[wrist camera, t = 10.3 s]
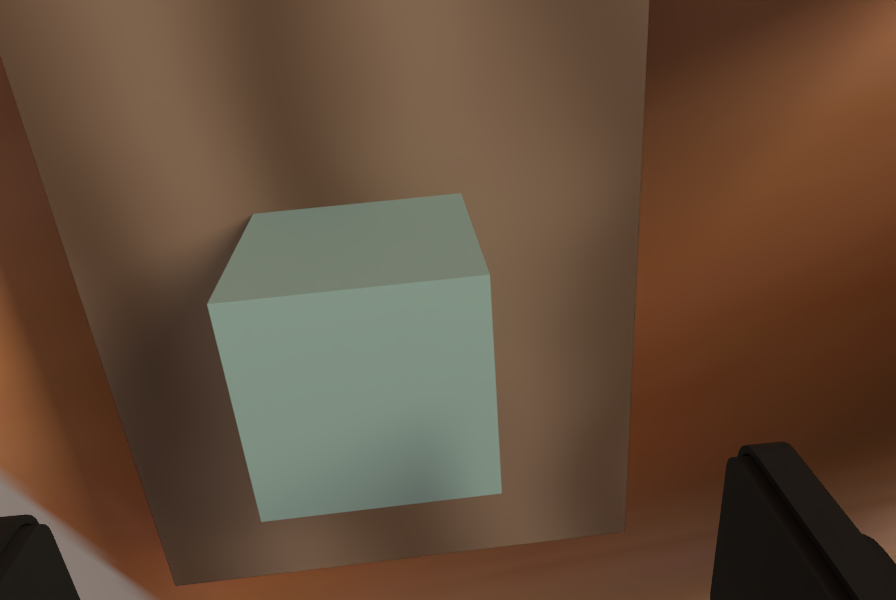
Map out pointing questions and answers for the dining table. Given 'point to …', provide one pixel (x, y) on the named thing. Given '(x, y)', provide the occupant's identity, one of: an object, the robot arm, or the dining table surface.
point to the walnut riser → (340, 183)
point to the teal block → (361, 356)
